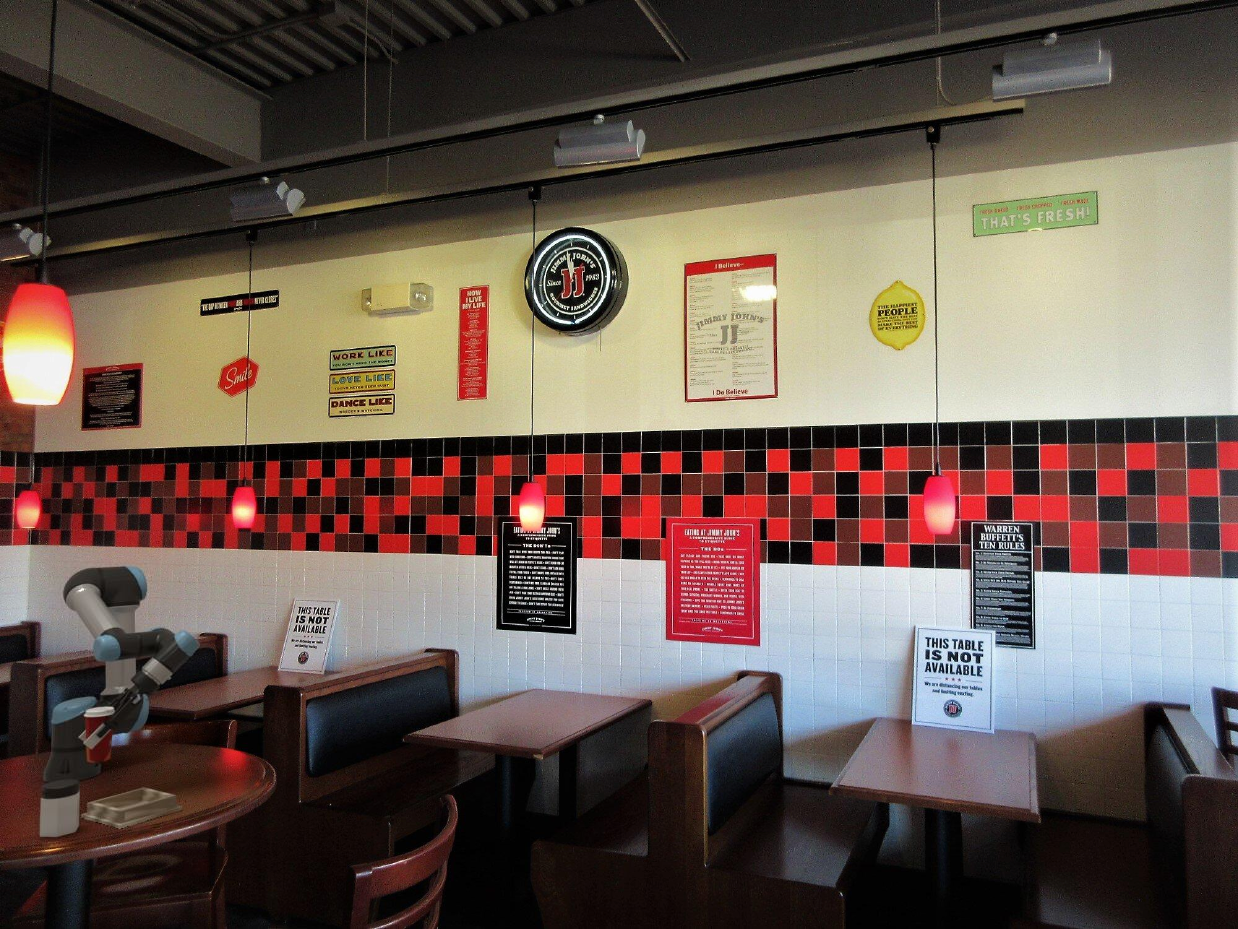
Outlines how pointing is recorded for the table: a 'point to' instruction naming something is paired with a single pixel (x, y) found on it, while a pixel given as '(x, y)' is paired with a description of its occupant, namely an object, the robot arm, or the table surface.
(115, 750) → the table surface
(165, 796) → the cup tray
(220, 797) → the table surface
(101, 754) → the paper cup
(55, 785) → the jar
